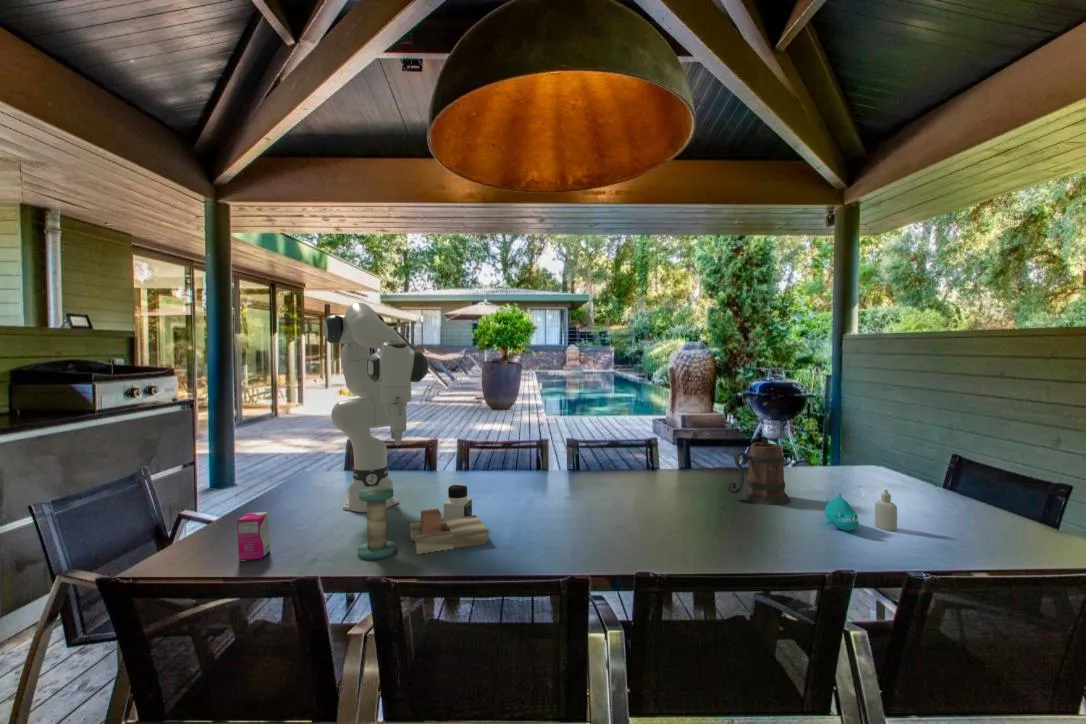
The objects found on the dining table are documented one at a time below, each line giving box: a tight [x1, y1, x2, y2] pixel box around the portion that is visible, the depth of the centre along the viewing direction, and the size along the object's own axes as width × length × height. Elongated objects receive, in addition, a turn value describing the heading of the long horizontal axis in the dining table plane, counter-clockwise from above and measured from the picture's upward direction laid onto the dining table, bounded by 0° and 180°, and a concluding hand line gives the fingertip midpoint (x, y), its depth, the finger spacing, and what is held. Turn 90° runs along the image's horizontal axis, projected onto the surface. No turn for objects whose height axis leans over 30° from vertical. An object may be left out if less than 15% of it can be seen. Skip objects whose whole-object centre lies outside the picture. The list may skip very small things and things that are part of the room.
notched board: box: [409, 514, 489, 555], centre depth 146 cm, size 14×20×4 cm
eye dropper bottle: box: [874, 488, 898, 532], centre depth 153 cm, size 4×6×12 cm
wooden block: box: [420, 508, 442, 535], centre depth 144 cm, size 5×5×9 cm
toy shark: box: [824, 491, 860, 532], centre depth 156 cm, size 10×18×11 cm, turn 174°
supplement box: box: [236, 511, 271, 561], centre depth 135 cm, size 6×6×12 cm
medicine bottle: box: [443, 483, 473, 519], centre depth 162 cm, size 7×7×12 cm
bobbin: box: [357, 487, 397, 561], centre depth 138 cm, size 10×10×17 cm
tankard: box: [725, 441, 792, 506], centre depth 185 cm, size 24×17×20 cm
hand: (396, 441), depth 150 cm, fingers open, 8 cm apart
